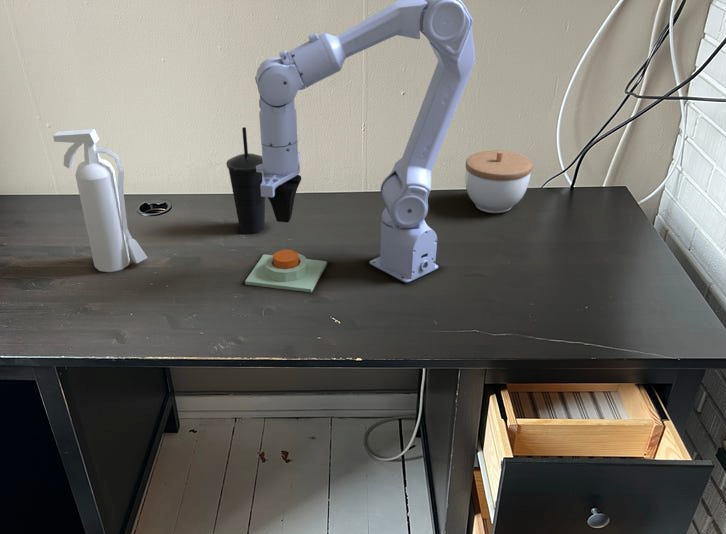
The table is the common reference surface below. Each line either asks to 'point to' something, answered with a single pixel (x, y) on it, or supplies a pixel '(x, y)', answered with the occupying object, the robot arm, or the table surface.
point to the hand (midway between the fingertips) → (283, 220)
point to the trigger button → (285, 259)
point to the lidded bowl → (497, 179)
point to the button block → (287, 274)
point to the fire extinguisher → (101, 202)
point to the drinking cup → (247, 189)
